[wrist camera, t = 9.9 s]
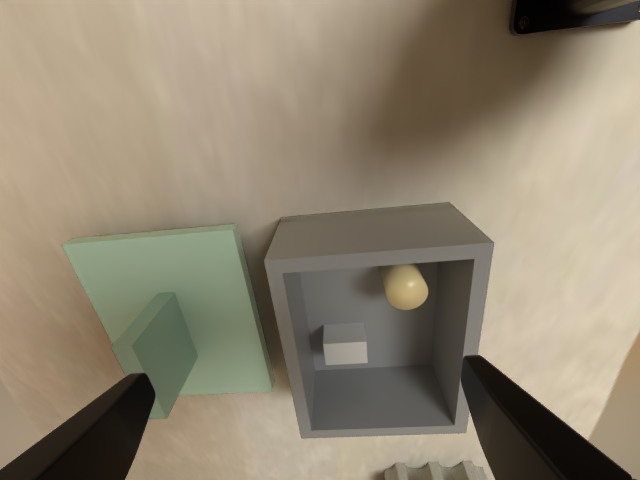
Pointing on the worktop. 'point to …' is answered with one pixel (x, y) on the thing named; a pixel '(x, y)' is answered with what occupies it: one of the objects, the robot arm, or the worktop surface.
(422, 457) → the worktop surface
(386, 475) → the egg carton
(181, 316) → the lid
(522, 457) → the robot arm
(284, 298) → the tub
